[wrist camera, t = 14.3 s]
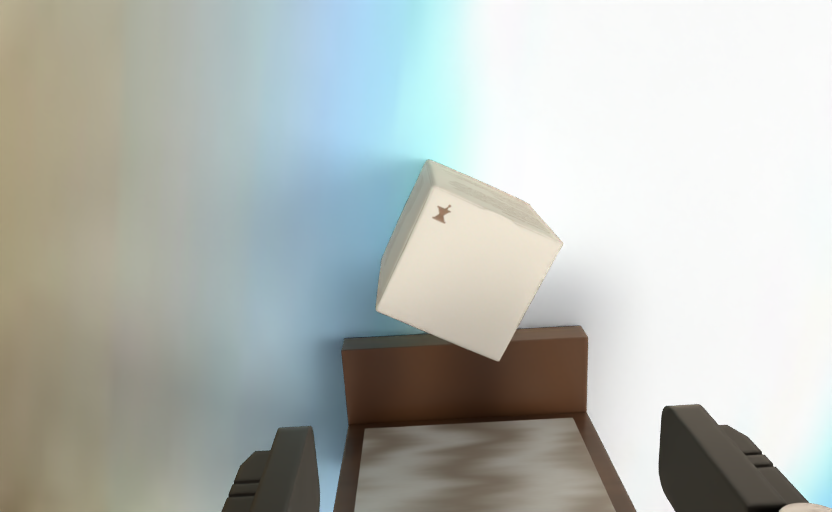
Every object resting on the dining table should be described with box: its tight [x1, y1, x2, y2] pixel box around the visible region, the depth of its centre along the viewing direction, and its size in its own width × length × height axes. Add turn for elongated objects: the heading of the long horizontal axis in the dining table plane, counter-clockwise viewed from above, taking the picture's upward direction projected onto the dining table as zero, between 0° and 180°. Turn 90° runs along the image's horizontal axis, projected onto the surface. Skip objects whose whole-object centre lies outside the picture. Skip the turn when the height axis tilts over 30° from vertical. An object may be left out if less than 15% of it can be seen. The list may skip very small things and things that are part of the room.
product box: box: [376, 159, 563, 361], centre depth 30 cm, size 6×6×7 cm
